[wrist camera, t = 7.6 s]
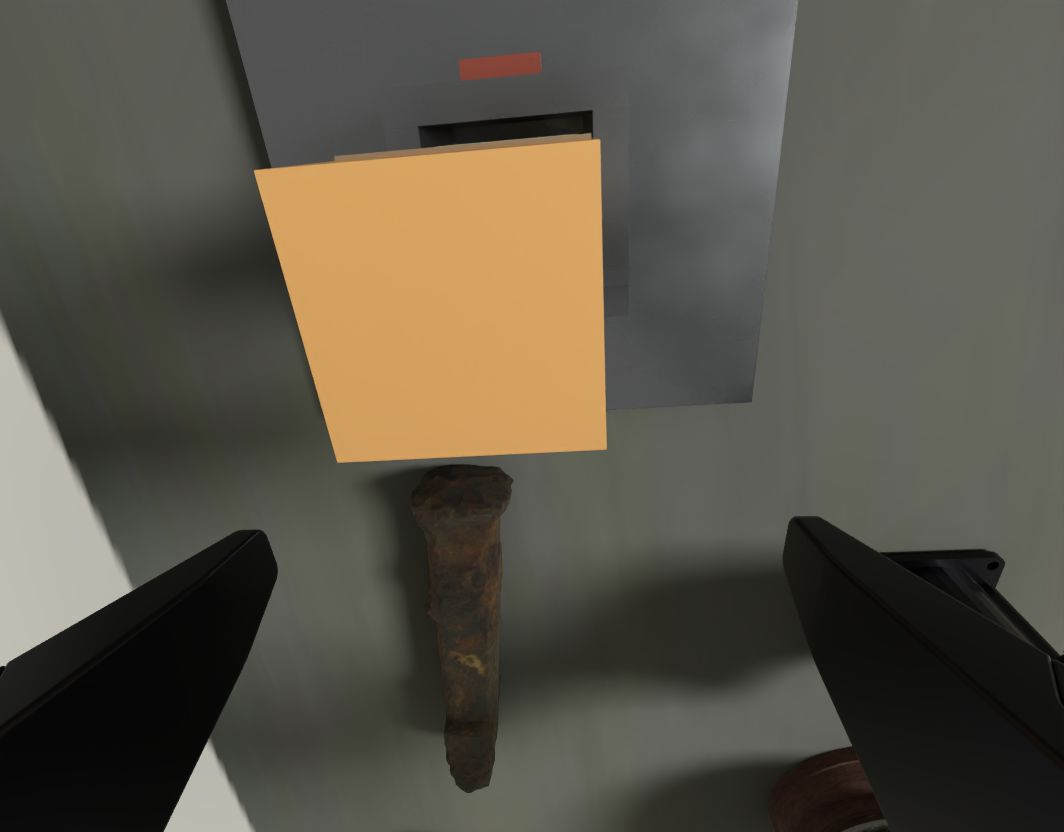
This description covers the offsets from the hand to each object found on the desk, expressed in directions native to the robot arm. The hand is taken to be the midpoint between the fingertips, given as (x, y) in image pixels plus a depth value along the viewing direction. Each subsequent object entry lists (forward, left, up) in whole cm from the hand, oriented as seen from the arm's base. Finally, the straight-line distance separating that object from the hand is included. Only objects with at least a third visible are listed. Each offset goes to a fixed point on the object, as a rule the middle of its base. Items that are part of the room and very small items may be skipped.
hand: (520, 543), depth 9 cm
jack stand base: (0, -5, -13) cm, 14 cm away
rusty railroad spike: (+4, +15, -13) cm, 21 cm away
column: (0, -5, -7) cm, 9 cm away
